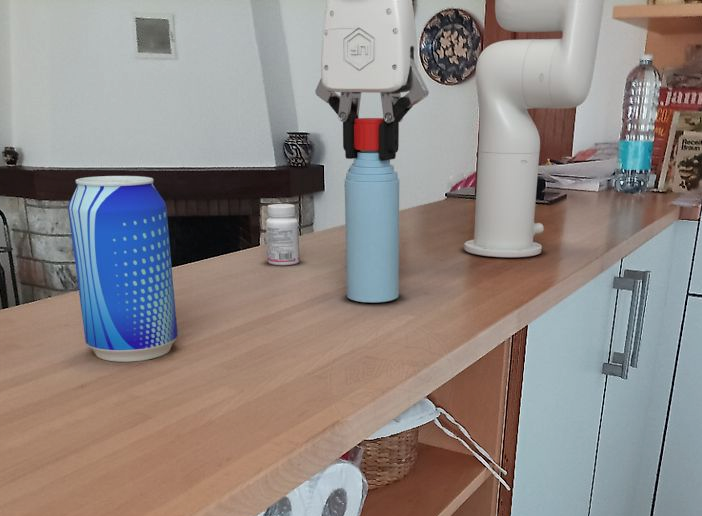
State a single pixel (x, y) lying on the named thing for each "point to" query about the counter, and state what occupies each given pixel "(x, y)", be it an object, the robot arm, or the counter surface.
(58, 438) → the counter surface
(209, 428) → the counter surface
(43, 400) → the counter surface
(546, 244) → the counter surface
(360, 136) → the cap
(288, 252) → the pill bottle
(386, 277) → the water bottle
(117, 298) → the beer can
